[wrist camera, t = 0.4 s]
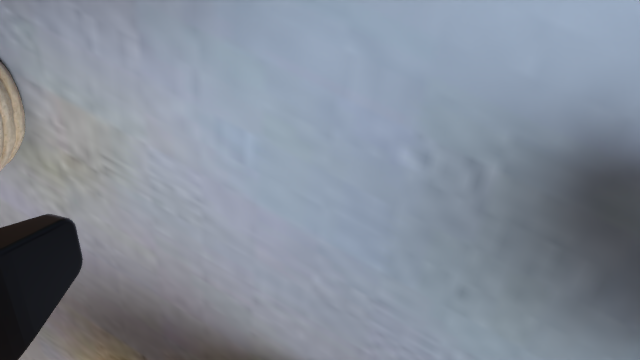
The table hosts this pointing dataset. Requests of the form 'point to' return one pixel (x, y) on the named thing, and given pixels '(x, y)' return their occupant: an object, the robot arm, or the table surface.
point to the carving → (10, 118)
